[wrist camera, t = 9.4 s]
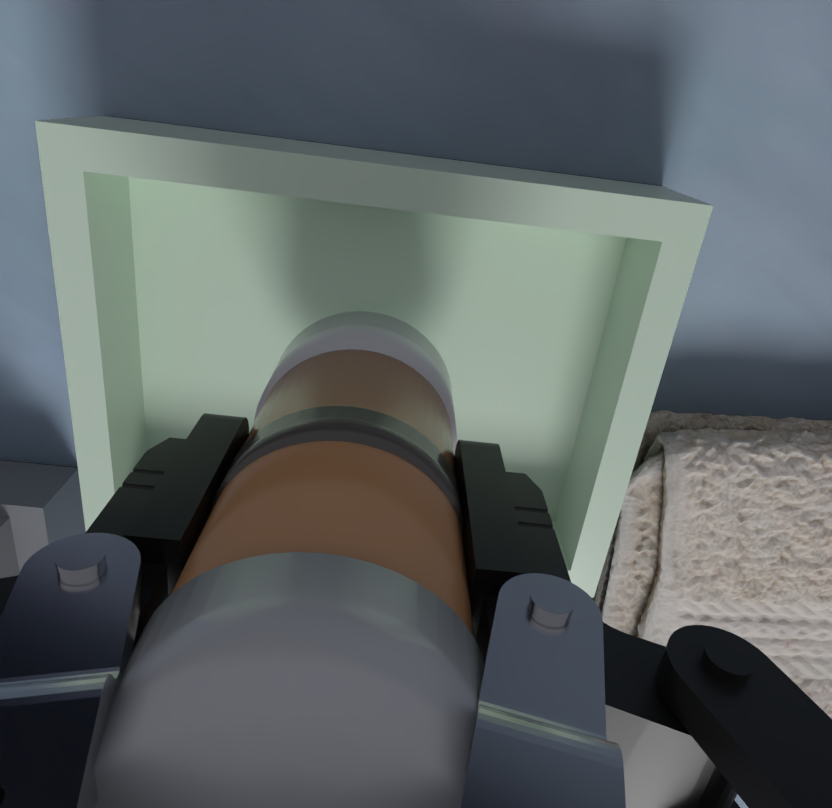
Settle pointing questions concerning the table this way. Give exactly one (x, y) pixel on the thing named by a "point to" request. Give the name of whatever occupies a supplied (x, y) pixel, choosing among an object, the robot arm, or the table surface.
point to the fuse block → (36, 510)
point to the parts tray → (363, 295)
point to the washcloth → (729, 539)
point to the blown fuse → (316, 602)
